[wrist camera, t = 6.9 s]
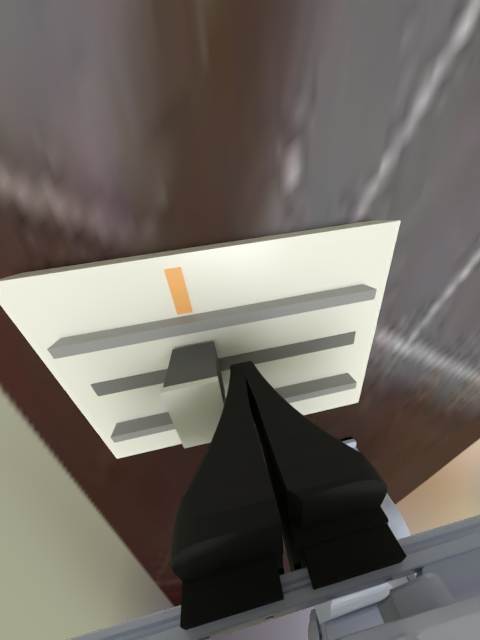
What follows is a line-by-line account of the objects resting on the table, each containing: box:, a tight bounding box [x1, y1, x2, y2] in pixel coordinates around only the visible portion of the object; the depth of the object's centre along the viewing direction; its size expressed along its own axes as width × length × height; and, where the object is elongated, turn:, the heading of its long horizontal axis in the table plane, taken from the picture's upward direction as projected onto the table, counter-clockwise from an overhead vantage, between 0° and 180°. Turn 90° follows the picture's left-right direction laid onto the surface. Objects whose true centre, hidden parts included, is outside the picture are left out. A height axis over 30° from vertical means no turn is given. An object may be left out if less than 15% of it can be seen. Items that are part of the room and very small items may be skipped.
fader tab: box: [160, 342, 226, 448], centre depth 11 cm, size 2×4×3 cm, turn 7°
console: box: [0, 220, 401, 459], centre depth 13 cm, size 20×14×3 cm
